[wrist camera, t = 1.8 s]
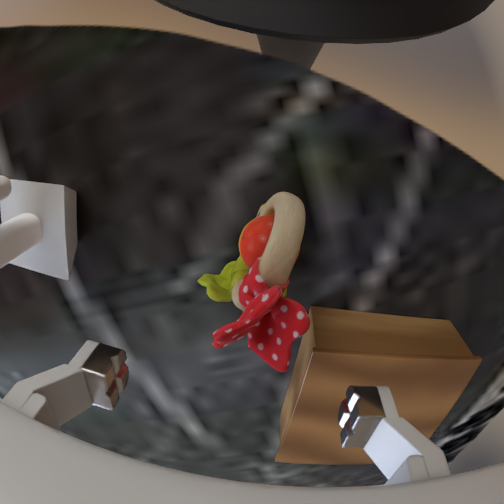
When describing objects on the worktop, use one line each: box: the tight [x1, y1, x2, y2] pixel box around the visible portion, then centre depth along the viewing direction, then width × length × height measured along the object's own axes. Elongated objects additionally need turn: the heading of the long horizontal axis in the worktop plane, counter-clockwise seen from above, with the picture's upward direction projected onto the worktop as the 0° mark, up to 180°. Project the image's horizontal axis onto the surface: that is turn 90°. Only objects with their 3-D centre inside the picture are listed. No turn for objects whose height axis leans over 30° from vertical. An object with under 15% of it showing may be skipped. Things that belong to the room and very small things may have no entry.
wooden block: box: [275, 306, 482, 464], centre depth 24 cm, size 14×14×6 cm
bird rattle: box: [198, 192, 310, 372], centre depth 18 cm, size 6×11×9 cm
